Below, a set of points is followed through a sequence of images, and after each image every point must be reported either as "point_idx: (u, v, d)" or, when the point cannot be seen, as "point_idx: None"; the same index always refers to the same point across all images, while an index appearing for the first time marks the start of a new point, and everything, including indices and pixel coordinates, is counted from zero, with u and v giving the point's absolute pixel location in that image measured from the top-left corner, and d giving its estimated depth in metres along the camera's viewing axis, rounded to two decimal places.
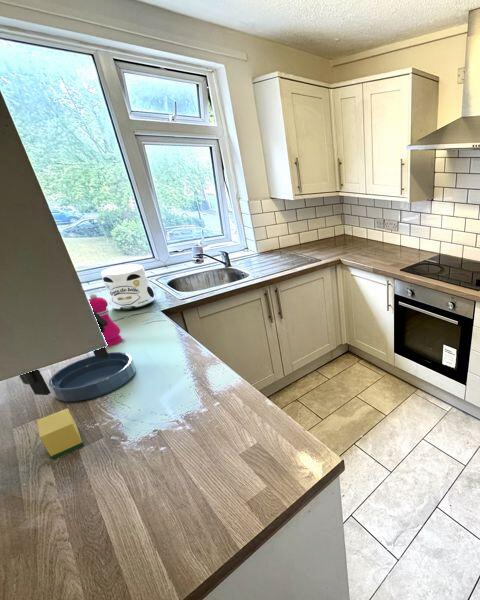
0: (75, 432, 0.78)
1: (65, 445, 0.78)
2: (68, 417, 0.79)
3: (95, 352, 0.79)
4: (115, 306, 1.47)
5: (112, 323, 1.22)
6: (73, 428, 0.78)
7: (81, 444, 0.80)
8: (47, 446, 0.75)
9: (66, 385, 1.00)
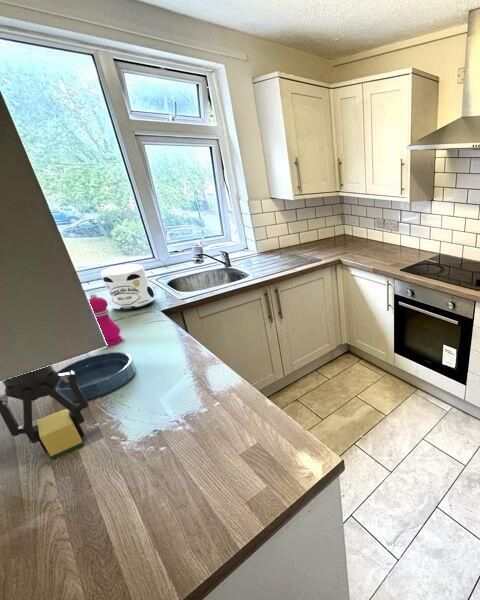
0: (75, 432, 0.78)
1: (65, 445, 0.78)
2: (68, 417, 0.79)
3: None
4: (115, 306, 1.47)
5: (112, 323, 1.22)
6: (73, 428, 0.78)
7: (81, 444, 0.80)
8: (47, 446, 0.75)
9: (66, 385, 1.00)
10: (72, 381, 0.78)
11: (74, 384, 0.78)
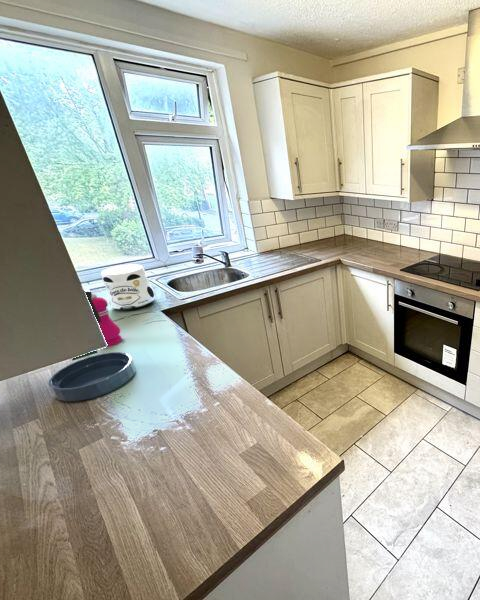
0: None
1: None
2: None
3: None
4: (115, 306, 1.47)
5: (112, 323, 1.22)
6: None
7: (95, 351, 0.96)
8: None
9: (66, 385, 1.00)
10: (88, 297, 0.94)
11: (90, 300, 0.94)
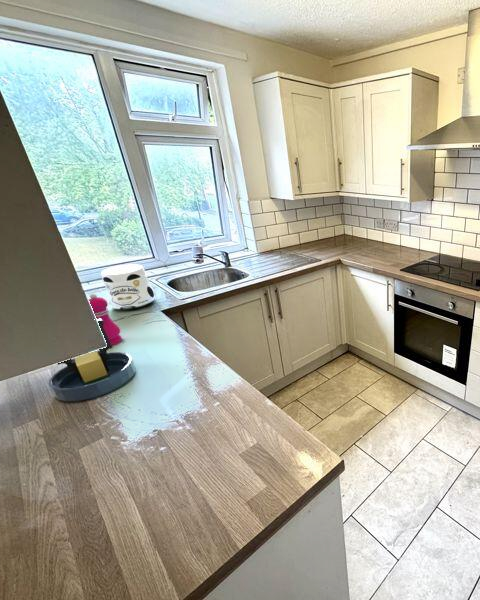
0: (102, 365, 1.02)
1: (95, 375, 1.01)
2: (97, 354, 1.02)
3: None
4: (115, 306, 1.47)
5: (112, 323, 1.22)
6: (101, 362, 1.01)
7: (107, 376, 1.03)
8: (82, 374, 0.98)
9: (66, 385, 1.00)
10: (100, 326, 1.01)
11: (102, 328, 1.01)
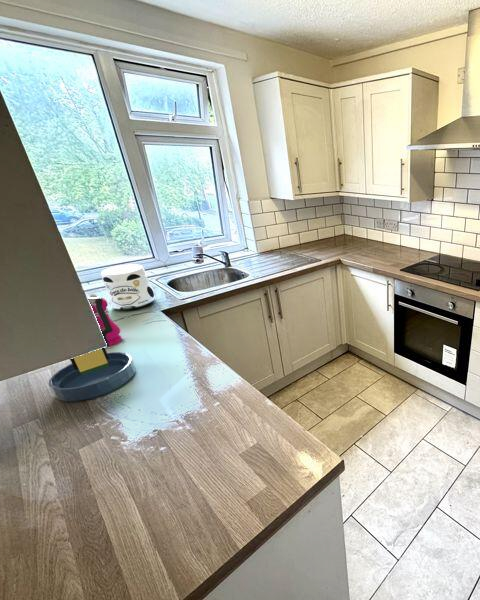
0: (102, 352, 0.86)
1: (93, 363, 0.85)
2: None
3: None
4: (115, 306, 1.47)
5: (112, 323, 1.22)
6: None
7: (107, 364, 0.87)
8: (77, 362, 0.82)
9: (66, 385, 1.00)
10: (99, 305, 0.85)
11: (101, 308, 0.85)
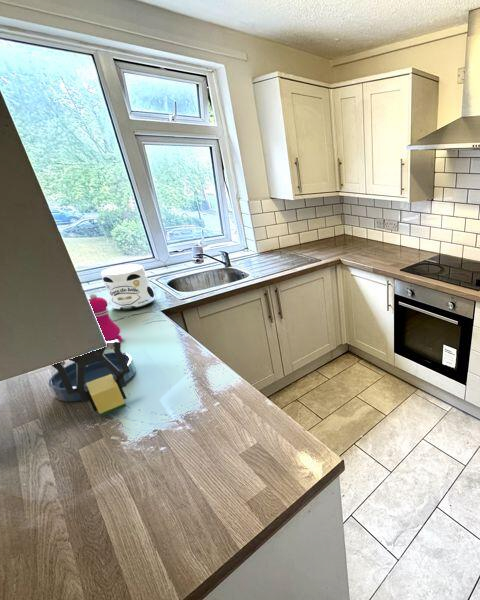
0: (120, 393, 0.89)
1: (111, 405, 0.88)
2: (113, 381, 0.90)
3: None
4: (115, 306, 1.47)
5: (112, 323, 1.22)
6: (118, 390, 0.88)
7: (124, 405, 0.90)
8: (97, 404, 0.85)
9: None
10: (117, 348, 0.88)
11: (119, 351, 0.88)
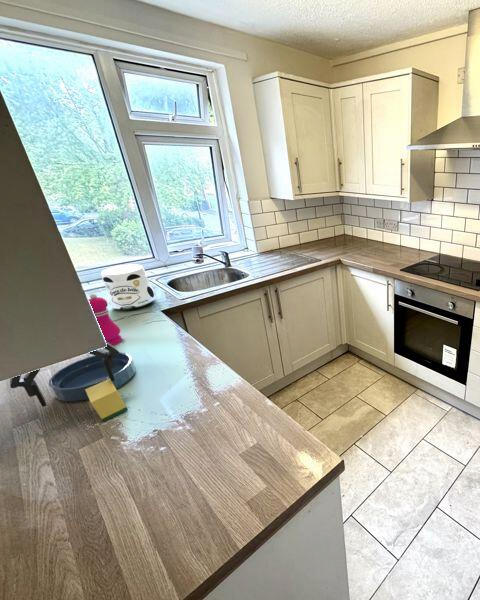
0: (119, 398, 0.89)
1: (112, 409, 0.88)
2: (112, 385, 0.90)
3: None
4: (115, 306, 1.47)
5: (112, 323, 1.22)
6: (117, 394, 0.88)
7: (126, 408, 0.91)
8: (98, 410, 0.86)
9: (66, 385, 1.00)
10: None
11: None
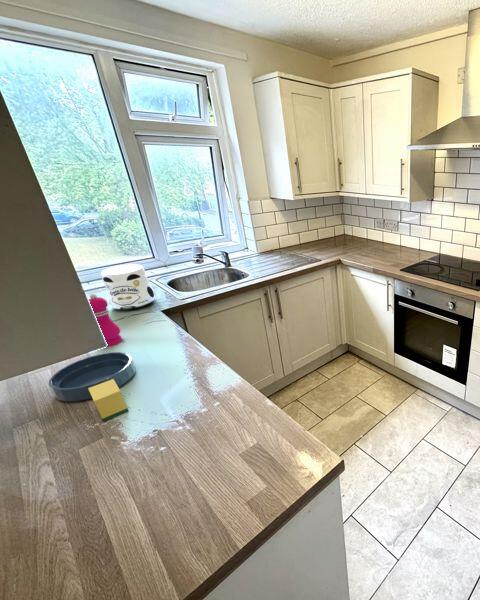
0: (122, 398, 0.89)
1: (114, 410, 0.89)
2: (115, 386, 0.90)
3: None
4: (115, 306, 1.47)
5: (112, 323, 1.22)
6: (120, 395, 0.89)
7: (126, 410, 0.91)
8: (99, 409, 0.86)
9: (66, 385, 1.00)
10: None
11: None
